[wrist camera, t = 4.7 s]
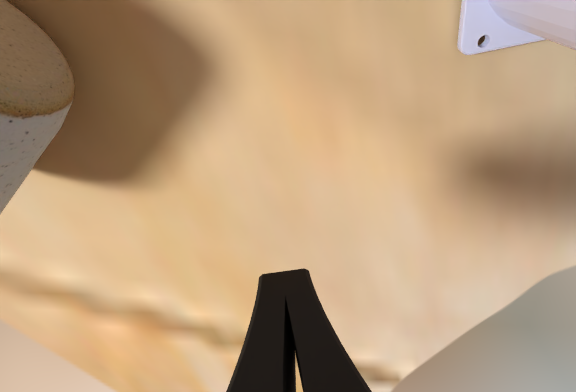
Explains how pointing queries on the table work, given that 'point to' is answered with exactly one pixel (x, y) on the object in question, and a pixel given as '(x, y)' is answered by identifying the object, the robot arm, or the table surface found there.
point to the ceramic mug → (28, 96)
